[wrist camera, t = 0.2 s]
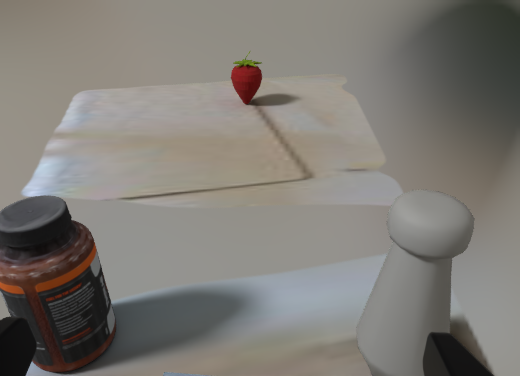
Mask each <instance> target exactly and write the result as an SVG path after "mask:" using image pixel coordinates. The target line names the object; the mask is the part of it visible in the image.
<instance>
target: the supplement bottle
mask: <svg viewBox="0 0 520 376" xmlns="http://www.w3.org/2000/svg"><path fill="white" fill-rule="evenodd" d="M0 292H1V295H2V297H3V299H4V301H5V304H6V306H7V308H8V311H9V313H10V315H11V317H24V318H25V319H27V321H28V322H29V325H30V327H31V329H32V332H33V334H34V336H35V339H36V341H37V349H36V352H35V355H34V357H33V360H32V361H33V363H34V364H36V366H38V367H39V368H41V369H43V370H45V371H50V372H65V371H71V370H74V369H77V368H80V367H82V366H84V365H86V364H88V363H90V362H91V361H93V360H94V359H96V358H97V357H99V356H100V355H101V354H102V353H103V352H104V351H105V350H106V349H107V347H108V346H109V345H110V343H111V342H112V340H113V337H114V335H115V331H116V320H115V314H114V311H113V307H112V304H111V300H110V297H109V293H108V289H107V286H106V283H105V279H104V275H103V272H102V268H101V264H100V260H99V257H98V253H97V249H96V246H95V242H94V239H93V237H92V235H91V232H90V231H89V229H88V228H87V227H86V226H84V225H83V224H81V223H79V222H76V221H73V220H71V215H70V214H69V210H68V208H67V205H66V202H65V201H63V199H61V198H59V197H56V196H36V197H30V198H26V199H23V200H20V201H17V202H15V203H13V204H11V205H9V206H7V207H5V208H4V209H2V210H1V211H0Z"/></svg>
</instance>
